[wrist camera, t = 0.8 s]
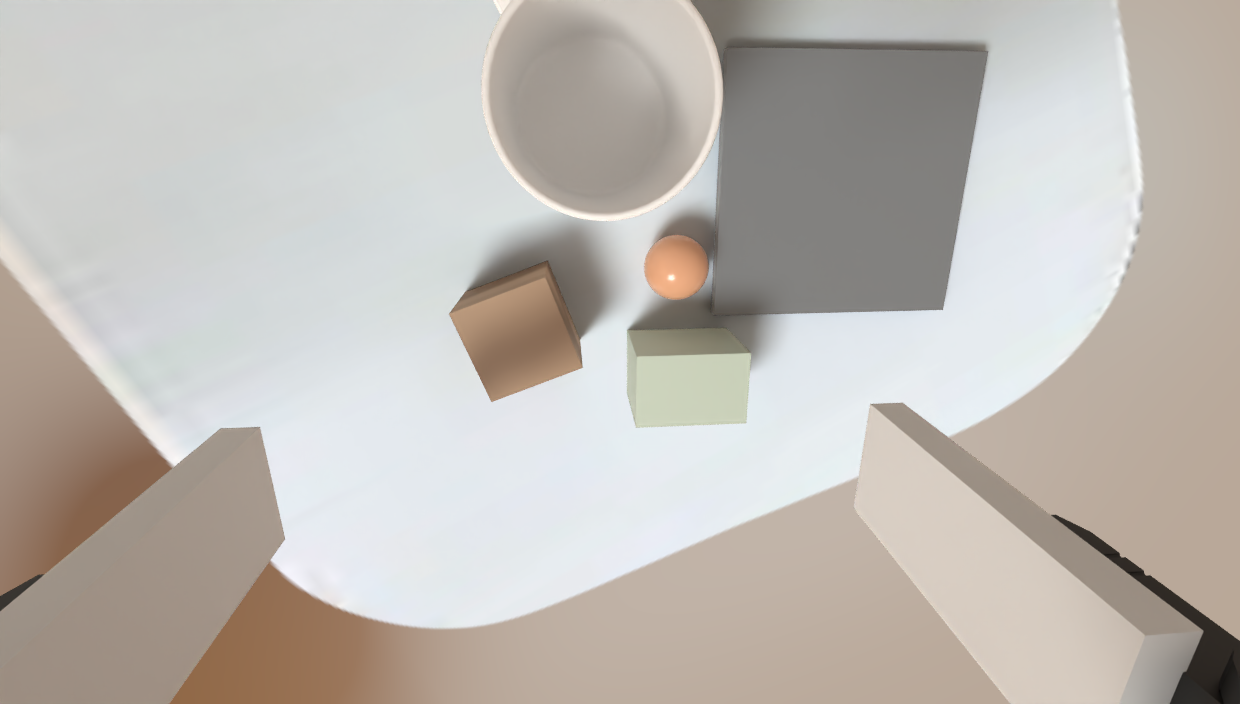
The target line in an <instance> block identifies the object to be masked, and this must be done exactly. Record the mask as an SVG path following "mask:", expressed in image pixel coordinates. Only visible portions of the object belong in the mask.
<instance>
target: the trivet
mask: <svg viewBox="0 0 1240 704" xmlns="http://www.w3.org/2000/svg"><path fill="white" fill-rule="evenodd" d="M987 55H988V51H945V50H882V49H819V48H756V47H727V48H726V49H724V54H723V75H722V77H723V104H722V114H721V119H720V137H719V158H718V178H717V199H716V220H715V240H714V261H713V282H712V302H711V313H712V314H713V315H753V314H793V313H833V312H873V311H913V310H943V306H944V301H945V295H946V289H947V283H948V278H949V272H950V266H951V261H952V255H953V249H954V243H955V238H956V232H957V226H958V221H959V215H960V209H961V203H962V198H963V192H964V186H965V181H966V175H967V169H968V163H969V158H970V152H971V146H972V141H973V135H974V129H975V124H976V118H977V112H978V106H979V101H980V95H981V89H982V84H983V78H984V72H985V66H986V61H987Z"/></svg>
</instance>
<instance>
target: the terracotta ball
mask: <svg viewBox="0 0 1240 704" xmlns="http://www.w3.org/2000/svg"><path fill="white" fill-rule="evenodd" d="M708 270H709V264H708V258H707V255H706V253H705V251H704V249H703V248H702V247H701V245H700V244H699V243H697V242H696V241H695V240H693V239H692V238H690V237H687V236H683V235H671V236H667V237H664V238H662V239H660V240H659V241H657V242H656V243H655V244H654V245H653V246H652V247H651V248H650V250H649V252H648V254H647V256H646V259H645V263H644V272H645V277H646V280H647V282H648V284H649V285H650V287H651V288H652V289H653V290H654V291H655V292H656V293H657V294H659V295H660V296H662V297H664V298H667V299H673V300H679V299H685V298H688V297H690V296H692V295H693V294H695V293H696V292H697V291H699V290H700V288H701V287H702V286H703V284H704V283H705V281H706V278H707V275H708Z"/></svg>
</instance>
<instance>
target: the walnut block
mask: <svg viewBox="0 0 1240 704" xmlns="http://www.w3.org/2000/svg"><path fill="white" fill-rule="evenodd" d="M449 315H450V317H451V319H452V321H453V323H454V325H455V327H456V329H457V331H458V333H459V336H460V338H461V340H462V342H463V344H464V346H465V348H466V350H467V352H468V354H469V356H470V358H471V360H472V362H473V365H474V367H475V369H476V371H477V373H478V375H479V377H480V379H481V381H482V383H483V385H484V387H485V389H486V392H487V394H488V396H489V398H490V400H491V402H493V401H496V400H498V399H501V398H503V397H506V396H509V395H511V394H514V393H517V392H519V391H522V390H525V389H527V388H530V387H533V386H535V385H538V384H541V383H543V382H546V381H549V380H551V379H554V378H557V377H559V376H562V375H565V374H567V373H570V372H572V371H575V370H578V369H580V368H583V367H582V356H581V346H580V339H579V336H578V334H577V331H576V329H575V326H574V324H573V321H572V319H571V317H570V314H569V312H568V309H567V307H566V304H565V302H564V299H563V297H562V295H561V292H560V290H559V287H558V285H557V282H556V280H555V277H554V275H553V272H552V270H551V268H550V265H549V263H548V261H545V262H543V263H540V264H538V265H535V266H532V267H530V268H527V269H524V270H522V271H519V272H517V273H514V274H511V275H509V276H506V277H504V278H501V279H498V280H496V281H493V282H490V283H488V284H485V285H483V286H480V287H477V288H475V289H472V290H470V291H467V292H465V293H464V294H463V296H462V297H461V298H460V300H459V301H458V303H457V304H456V305H455V307H454V308H453V309H452V311H451V312H450V313H449Z"/></svg>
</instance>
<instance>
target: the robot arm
mask: <svg viewBox="0 0 1240 704" xmlns="http://www.w3.org/2000/svg"><path fill="white" fill-rule="evenodd" d="M854 509H855V511H856V512H857V513H858V514H859V516H860V517H861V518H862V519H863V521H864V522H865V523H866V524H867V526H868V527H869V528H870V529H871V530H872V532H873V533H874V534H875V536H876V537H877V538H878V539H879V541H880V542H881V543H882V544H883V545H884V547H885V548H886V549H887V551H888V552H889V553H890V554H891V555H892V557H893V558H894V559H895V560H896V562H897V563H898V564H899V566H900V567H901V568H902V569H903V571H904V572H905V573H906V574H907V575H908V577H909V578H910V579H911V580H912V582H913V583H914V584H915V585H916V587H917V588H918V589H919V590H920V591H921V593H922V594H923V595H924V597H925V598H926V599H927V600H928V602H929V603H930V604H931V605H932V607H933V608H934V609H935V610H936V612H937V613H938V614H939V615H940V617H941V618H942V619H943V620H944V622H945V623H946V624H947V625H948V627H949V628H950V629H951V630H952V632H953V633H954V634H955V635H956V637H957V638H958V639H959V640H960V642H961V643H962V644H963V645H964V646H965V648H966V649H967V650H968V652H969V653H970V654H971V655H972V657H973V658H974V659H975V660H976V662H977V663H978V664H979V665H980V667H981V668H982V669H983V670H984V672H985V673H986V674H987V675H988V676H989V678H990V679H991V680H992V681H993V683H994V684H995V685H996V686H997V687H998V689H999V690H1000V691H1001V693H1002V694H1003V695H1004V696H1005V698H1006V699H1007V700H1008V701H1009V703H1010V704H1240V641H1239V640H1238V639H1236V638H1235V637H1234V636H1232V635H1231V634H1229V633H1228V632H1227V631H1225V630H1224V629H1222V628H1221V627H1220V626H1218V625H1217V624H1216V623H1214V622H1213V621H1212V620H1210V619H1209V618H1208V617H1206V616H1205V615H1203V614H1202V613H1201V612H1199V611H1198V610H1197V609H1195V608H1194V607H1193V606H1191V605H1190V604H1188V603H1187V602H1186V601H1184V600H1183V599H1181V598H1180V597H1179V596H1178V595H1176V594H1175V593H1173V592H1172V591H1171V590H1169V589H1168V588H1167V587H1165V586H1164V585H1163V584H1161V583H1160V582H1158V581H1157V580H1156V579H1154V578H1153V577H1152V576H1146V575H1145V574H1144V571H1143V570H1142V569H1141V568H1139V567H1138V566H1137V565H1135V564H1134V563H1132V562H1131V561H1130V560H1128V559H1127V558H1126V557H1124V558H1121V557H1120V554H1119V552H1117V551H1116V550H1115V549H1113V548H1112V547H1111V546H1109V545H1108V544H1106V543H1105V542H1104V541H1102V540H1101V539H1100V538H1098V537H1097V536H1095V535H1094V534H1093V533H1091V532H1090V531H1088V530H1086V529H1084V528H1082V527H1080V526H1078V525H1076V524H1073V523H1071V522H1069V521H1067V520H1065V519H1063V518H1061V517H1059V516H1057V515H1050V514H1048V513H1047V512H1046V511H1044V510H1043V509H1042V508H1041V507H1039V506H1038V505H1036V504H1035V503H1034V502H1033V501H1031V500H1030V499H1028V498H1027V497H1026V496H1024V495H1023V494H1022V493H1021V492H1020V491H1018V490H1017V489H1016V488H1014V487H1013V486H1011V485H1010V484H1009V483H1007V482H1006V481H1005V480H1004V479H1002V478H1001V477H1000V476H998V475H997V474H996V473H994V472H993V471H992V470H990V469H989V468H988V467H987V466H985V465H984V464H983V463H981V462H980V461H978V460H977V459H976V458H975V457H973V456H972V455H971V454H969V453H968V452H967V451H965V450H964V449H963V448H961V447H960V446H959V445H957V444H956V443H955V442H954V441H952V440H951V439H950V438H948V437H947V436H946V435H944V434H943V433H942V432H940V431H939V430H938V429H936V428H935V427H934V426H932V425H931V424H930V423H928V422H927V421H926V420H925V419H923V418H922V417H921V416H919V415H918V414H917V413H915V412H914V411H913V410H911V409H910V408H909V407H907V406H906V405H905V404H903V403H885V404H870V408H869V415H868V421H867V427H866V434H865V440H864V446H863V452H862V459H861V465H860V471H859V477H858V484H857V490H856V496H855V503H854ZM284 540H285V536H284V532H283V528H282V523H281V519H280V514H279V510H278V505H277V501H276V496H275V492H274V488H273V483H272V479H271V474H270V470H269V465H268V461H267V456H266V452H265V448H264V443H263V439H262V434H261V430H260V427H248V428H221V429H219V430H218V431H217V432H216V433H215V434H213V435H212V436H211V437H210V438H209V439H207V440H206V441H205V442H204V443H203V444H201V445H200V446H199V447H198V448H197V449H195V450H194V451H193V452H192V453H191V454H189V455H188V456H187V457H186V458H184V459H183V460H182V461H181V462H180V463H178V464H177V465H176V466H175V467H174V468H172V469H171V470H170V471H169V472H168V473H166V474H165V475H164V476H163V477H162V478H160V479H159V480H158V481H157V482H156V483H154V484H153V485H152V486H151V487H150V488H148V489H147V490H146V491H145V492H144V493H143V494H141V495H140V496H139V497H137V498H136V499H135V500H134V501H133V502H131V503H130V504H129V505H128V506H127V507H126V508H124V509H123V510H122V511H121V512H119V513H118V514H117V515H116V516H115V517H113V518H112V519H111V520H110V521H109V522H108V523H106V524H105V525H104V526H102V527H101V528H100V529H99V530H98V531H97V532H95V533H94V534H93V535H92V536H90V537H89V538H88V539H87V540H86V541H85V542H83V543H82V544H81V545H80V546H78V547H77V548H76V549H75V550H74V551H72V552H71V553H70V554H69V555H68V556H66V557H65V558H64V559H63V560H62V561H60V563H58V564H57V565H55V566H54V567H53V568H52V569H51V570H49V571H48V572H47V573H46V574H44V575H37V576H35V577H34V578H32V579H30V580H28V581H27V582H25V583H23V584H21V585H19V586H18V587H16V588H14V589H12V590H10V591H9V592H7V593H5V594H3V595H2V596H0V704H169V703H170V702H171V700H172V699H173V697H174V696H175V695H176V693H177V692H178V690H179V689H180V687H181V686H182V684H183V683H184V682H185V680H186V679H187V678H188V676H189V675H190V673H191V672H192V670H193V669H194V667H195V666H196V665H197V663H198V662H199V661H200V659H201V658H202V656H203V655H204V653H205V652H206V651H207V649H208V648H209V646H210V645H211V643H212V642H213V641H214V639H215V638H216V636H217V635H218V634H219V632H220V631H221V629H222V628H223V626H224V625H225V623H226V622H227V621H228V619H229V618H230V616H231V615H232V613H233V612H234V611H235V609H236V608H237V606H238V605H239V603H240V602H241V601H242V599H243V598H244V597H245V595H246V594H247V592H248V591H249V589H250V588H251V587H252V585H253V584H254V582H255V581H256V580H257V578H258V576H259V575H260V574H261V572H262V571H263V570H264V568H265V567H266V565H267V564H268V562H269V561H270V560H271V558H272V557H273V555H274V554H275V553H276V551H277V550H278V548H279V547H280V545H281V544H282V543H283V541H284Z"/></svg>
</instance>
